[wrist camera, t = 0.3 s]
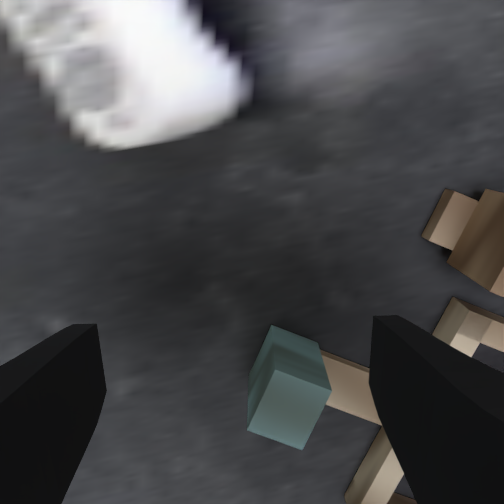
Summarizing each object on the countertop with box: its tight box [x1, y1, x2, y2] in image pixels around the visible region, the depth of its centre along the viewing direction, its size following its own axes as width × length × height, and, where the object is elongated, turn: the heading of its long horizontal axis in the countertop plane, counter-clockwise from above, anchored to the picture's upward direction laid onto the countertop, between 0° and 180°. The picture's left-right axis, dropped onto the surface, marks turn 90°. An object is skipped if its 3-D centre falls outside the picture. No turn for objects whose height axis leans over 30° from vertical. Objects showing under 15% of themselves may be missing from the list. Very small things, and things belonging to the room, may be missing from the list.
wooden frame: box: [247, 297, 504, 504], centre depth 22 cm, size 12×20×4 cm, turn 68°
